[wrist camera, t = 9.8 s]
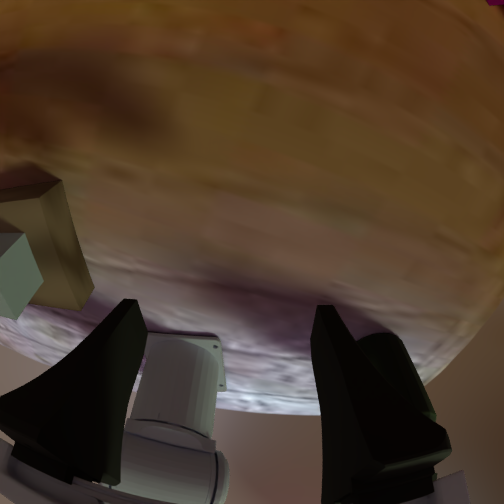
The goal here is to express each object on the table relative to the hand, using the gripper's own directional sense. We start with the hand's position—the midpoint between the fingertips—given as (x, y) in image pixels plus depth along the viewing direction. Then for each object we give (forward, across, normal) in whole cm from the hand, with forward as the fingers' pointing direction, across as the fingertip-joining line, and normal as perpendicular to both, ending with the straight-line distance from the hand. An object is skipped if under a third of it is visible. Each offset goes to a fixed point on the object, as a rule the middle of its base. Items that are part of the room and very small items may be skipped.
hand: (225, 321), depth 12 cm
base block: (+9, +18, +2) cm, 20 cm away
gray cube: (+6, +18, +2) cm, 19 cm away
